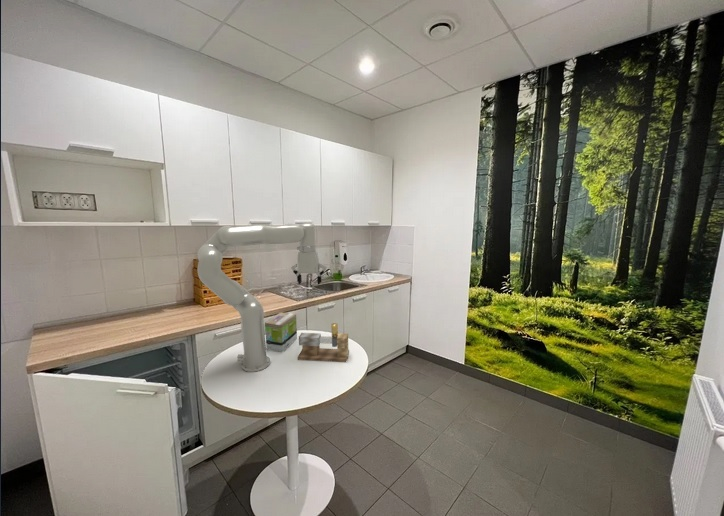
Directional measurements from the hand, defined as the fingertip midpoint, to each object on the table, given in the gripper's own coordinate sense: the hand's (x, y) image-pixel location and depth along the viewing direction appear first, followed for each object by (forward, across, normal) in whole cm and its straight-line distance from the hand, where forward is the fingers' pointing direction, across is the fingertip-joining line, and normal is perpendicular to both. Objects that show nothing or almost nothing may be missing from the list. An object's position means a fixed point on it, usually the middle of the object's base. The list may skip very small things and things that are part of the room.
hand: (309, 283), depth 146 cm
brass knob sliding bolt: (+28, +10, -8) cm, 31 cm away
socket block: (+33, +17, -8) cm, 38 cm away
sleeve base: (+34, +8, -8) cm, 36 cm away
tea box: (+35, -17, +2) cm, 39 cm away
